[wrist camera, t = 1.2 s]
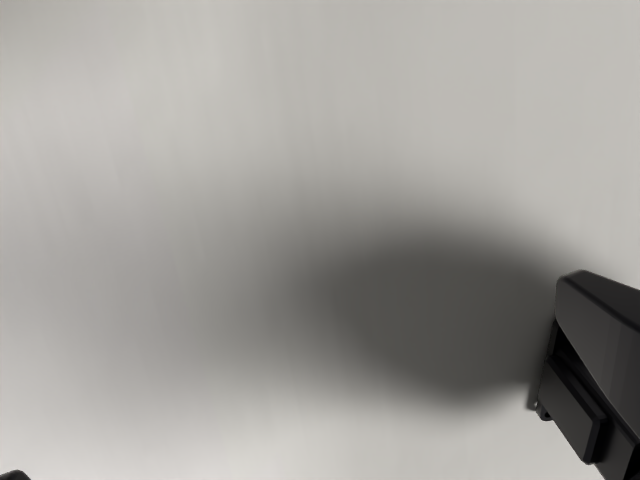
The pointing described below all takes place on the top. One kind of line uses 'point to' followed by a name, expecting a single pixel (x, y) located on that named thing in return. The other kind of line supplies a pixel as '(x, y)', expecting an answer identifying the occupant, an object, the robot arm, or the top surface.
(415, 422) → the top surface
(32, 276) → the top surface
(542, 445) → the top surface
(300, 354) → the top surface
